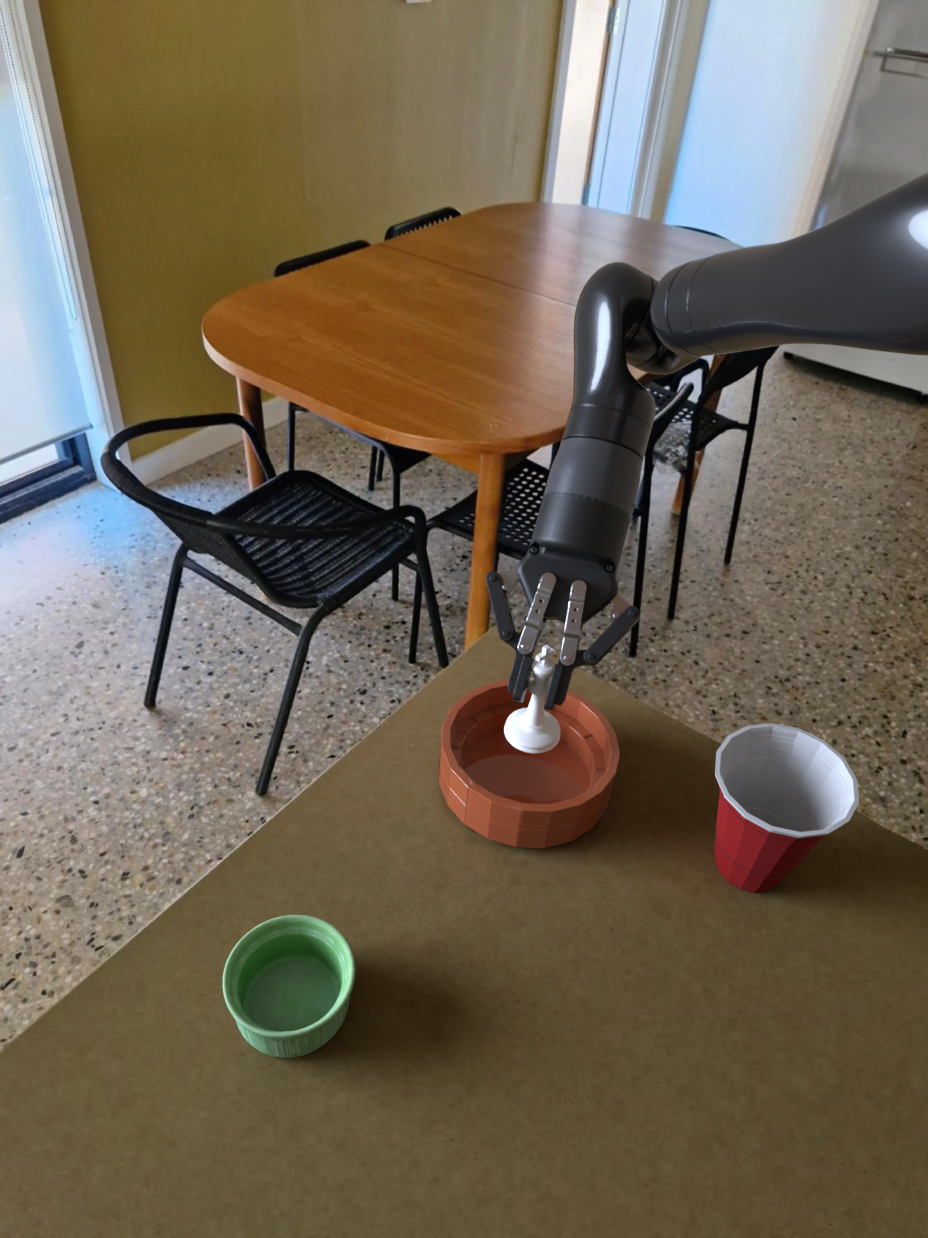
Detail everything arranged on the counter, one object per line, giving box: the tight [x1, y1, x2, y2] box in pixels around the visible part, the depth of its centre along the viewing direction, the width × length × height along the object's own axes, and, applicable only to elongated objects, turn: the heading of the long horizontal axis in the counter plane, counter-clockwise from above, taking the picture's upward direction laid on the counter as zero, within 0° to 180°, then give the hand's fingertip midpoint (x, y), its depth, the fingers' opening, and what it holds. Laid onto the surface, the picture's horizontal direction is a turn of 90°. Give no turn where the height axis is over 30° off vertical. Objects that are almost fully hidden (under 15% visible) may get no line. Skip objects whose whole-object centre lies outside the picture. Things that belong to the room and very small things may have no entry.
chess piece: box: [504, 644, 560, 753], centre depth 74 cm, size 5×5×10 cm
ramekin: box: [222, 914, 356, 1059], centre depth 62 cm, size 9×9×4 cm
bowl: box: [438, 678, 621, 849], centre depth 80 cm, size 16×16×6 cm
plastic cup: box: [713, 722, 860, 894], centre depth 72 cm, size 11×11×12 cm
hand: (533, 704), depth 73 cm, fingers closed on chess piece
